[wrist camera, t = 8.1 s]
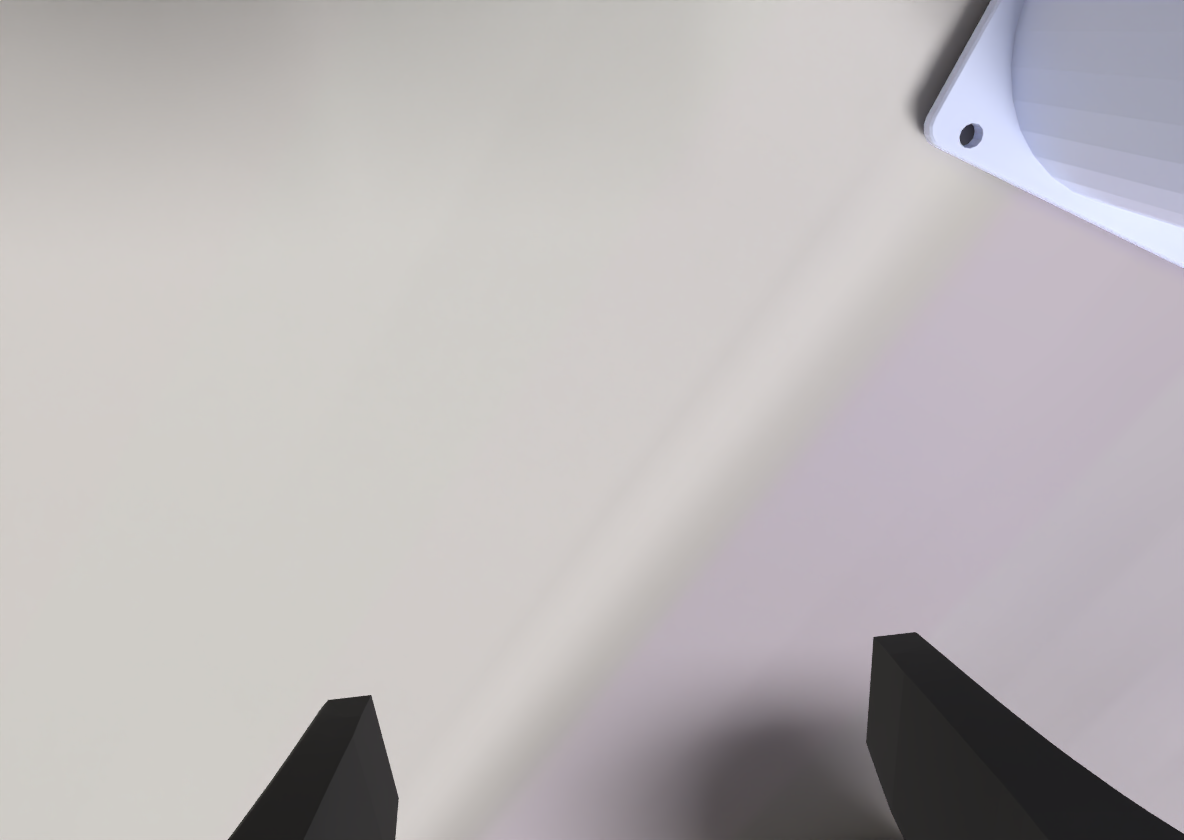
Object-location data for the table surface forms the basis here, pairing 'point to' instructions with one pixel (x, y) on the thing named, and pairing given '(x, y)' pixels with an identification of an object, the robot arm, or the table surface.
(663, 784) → the table surface
